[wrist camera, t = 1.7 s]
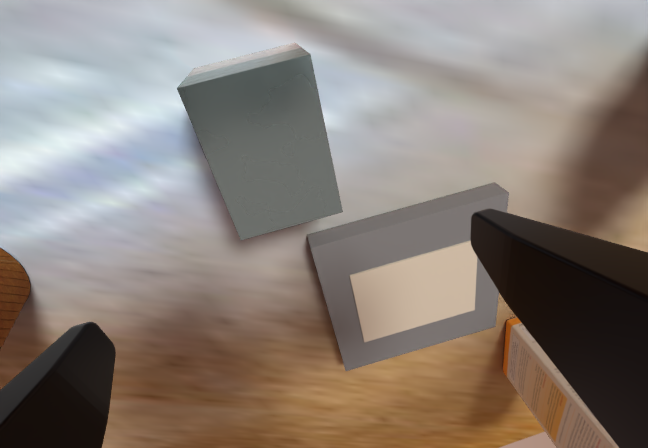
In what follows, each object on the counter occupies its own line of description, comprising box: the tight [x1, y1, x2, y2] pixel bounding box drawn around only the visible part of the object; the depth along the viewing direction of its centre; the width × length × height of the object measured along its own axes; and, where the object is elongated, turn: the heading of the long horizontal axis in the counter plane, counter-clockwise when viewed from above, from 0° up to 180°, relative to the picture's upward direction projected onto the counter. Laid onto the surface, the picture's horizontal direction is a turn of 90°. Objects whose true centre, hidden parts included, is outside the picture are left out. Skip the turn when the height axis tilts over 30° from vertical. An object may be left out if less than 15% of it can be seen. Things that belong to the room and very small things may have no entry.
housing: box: [177, 43, 343, 240], centre depth 17 cm, size 5×7×5 cm
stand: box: [307, 183, 509, 371], centre depth 26 cm, size 13×13×2 cm
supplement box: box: [503, 317, 619, 448], centre depth 28 cm, size 8×5×13 cm, turn 13°
